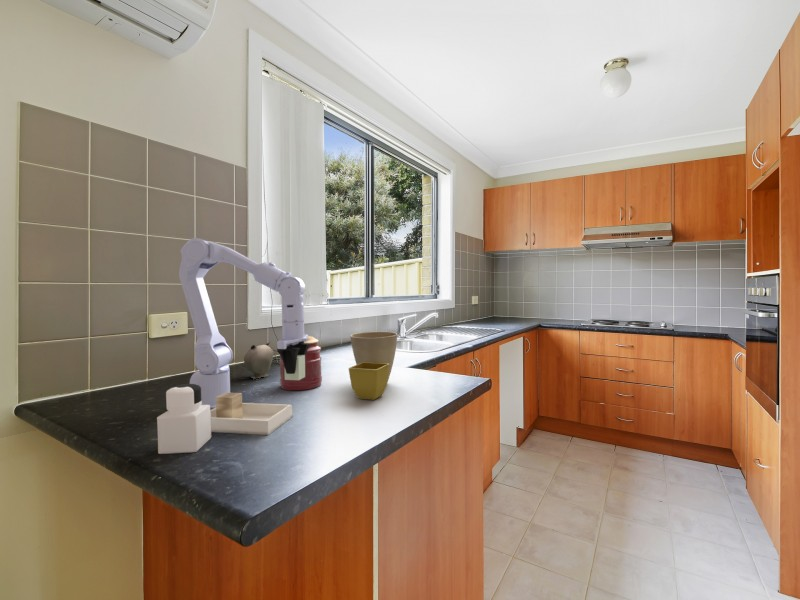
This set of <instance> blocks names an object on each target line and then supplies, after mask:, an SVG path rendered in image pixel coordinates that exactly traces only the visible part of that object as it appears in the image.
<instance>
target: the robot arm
mask: <svg viewBox="0 0 800 600" xmlns="http://www.w3.org/2000/svg"><path fill="white" fill-rule="evenodd" d="M179 252H180V254H181V260H180V265H179V270H178V277H179V278H178V279H179V280H180V284H181V288H182V291H183V294H184V297H185V301H186V305H187V307H188V311H189V313H190V315H189V316H190V318H191V321H192V325H193V328H194V331H195V335H196V342H195V344H194V347H193V350H194V353H195V355H194V356H195V357H194V359H193V360H194V366H195V368H196V369H197V371H195V372H194V373H192V375H191V376H190V379H189V384H196V385H199V386H200V387H201V399H202V404H201V405H210V409H214V408H216V397H217V396H220V395H222V394H224V393H226V392H227V393H231V375H230V373H231V372H230V366H229V365H230V363H231V362H232V360H233V359H234V352H233V350H232V349H231V347H230V346H229V345H228V344H227V341H226V338H225V337H224V336H223V335H222V334H220V331H219V329H218V324H217V321H216V318H215V315H214V311H213V306H212V304H211V301H210V296H209V295H208V291H207V288H206V284H205V280H204V278H205V276H206V275H207V273H208V272H209V270H211V269H212V268H214V267H215V266H216V265H218V264H219V263H228V264H230V265H232V266H235V267H236V268H238V269H241V270H244V271H245V272H248V273H250V274H252V275H253V278H254V281H255V282H256V283H258V284H261V285H263V286H265V287H267V288H269V289H271V290H273V291H275V292H276V293H277V292H278V293H279V295H280V296H281V319H282V320H281V325H282V326H281V327H282V328H281V329H282V330H281V331H282V333H281V334H282V337H281V339H279V340H278V341H276V345H277V346H276V350H277V352H278V354H279V356H280V359H281V358H282V360H283V363H284V366H285V370H286V373H287V374H294V373H295V370H296V360H297V355H306V352H307V350H308V348H309V343H304V341H308V340H309V338H308V336H309V334H305V311H304V310H305V307H304V306H305V305H304V293H305V291H306V284H305V282H304V281H303V279H301V278H300V277H299V276H295V275H294V276H291V275H292V273H291V272H290V271H284V270H282V269H280V268H278V267H276V264H275V263H273V262H272V261H271V262H269V263H268V262H266V261H265V262H262V263H258V262H256V261H254V260H252V259H251V258H249V257H247V256H246V255H243V254H242V253H240V252H238V251H236V250H234V249H232V248H231V247H228V246H226V245H222V244H219V243H217V242H216V241H209V240H205V239H202V238H199V237H198V238H197V237H193V238H190V239H188V240H187V241H186V242H185V243H184V244H183V246H182V247H181V249H180V250H179Z"/></svg>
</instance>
